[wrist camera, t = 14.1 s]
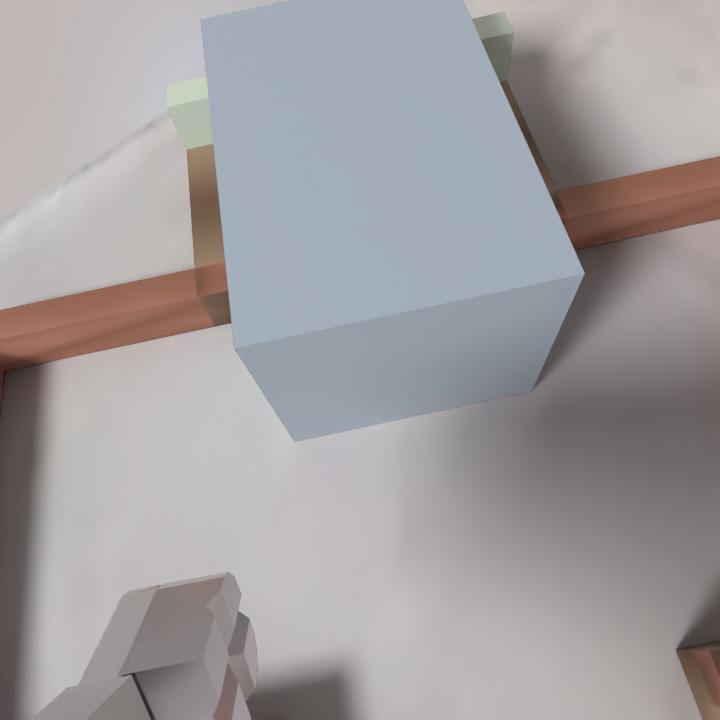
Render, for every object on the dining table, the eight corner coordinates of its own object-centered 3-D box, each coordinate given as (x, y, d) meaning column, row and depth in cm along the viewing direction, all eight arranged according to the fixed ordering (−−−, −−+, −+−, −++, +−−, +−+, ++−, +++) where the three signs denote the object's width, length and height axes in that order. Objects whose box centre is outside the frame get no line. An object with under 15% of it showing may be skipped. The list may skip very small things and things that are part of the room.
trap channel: (1600, 1340, 10) (1868, 1500, 8) (-202, 1701, 10) (-340, 1938, 8) (714, 76, 24) (737, 31, 22) (-8, 231, 24) (-43, 198, 22)
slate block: (530, 393, 19) (584, 273, 13) (295, 443, 19) (234, 348, 13) (441, 138, 24) (447, -34, 18) (257, 178, 24) (200, 19, 18)
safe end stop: (500, 122, 24) (513, 32, 21) (204, 185, 24) (166, 107, 21) (492, 102, 25) (504, 12, 21) (202, 164, 25) (165, 85, 21)
